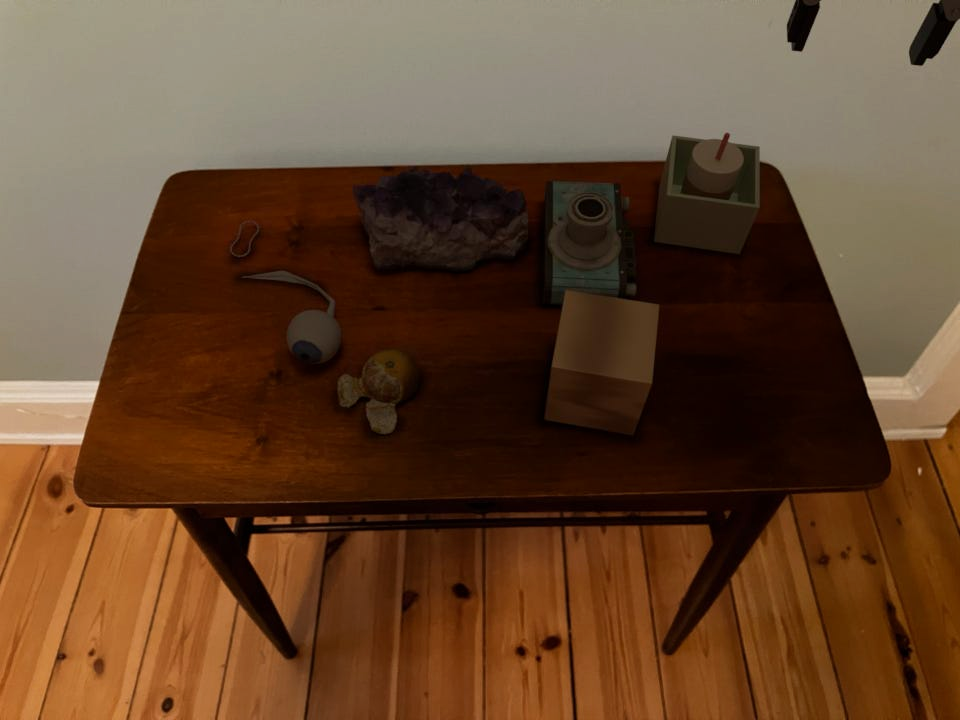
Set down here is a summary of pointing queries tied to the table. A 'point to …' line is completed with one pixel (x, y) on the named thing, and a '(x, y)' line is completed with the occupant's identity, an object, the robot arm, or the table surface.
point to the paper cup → (713, 169)
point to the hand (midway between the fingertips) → (855, 52)
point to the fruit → (381, 387)
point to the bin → (706, 203)
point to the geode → (441, 220)
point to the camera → (587, 241)
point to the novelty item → (310, 325)
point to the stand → (602, 362)
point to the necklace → (250, 240)
